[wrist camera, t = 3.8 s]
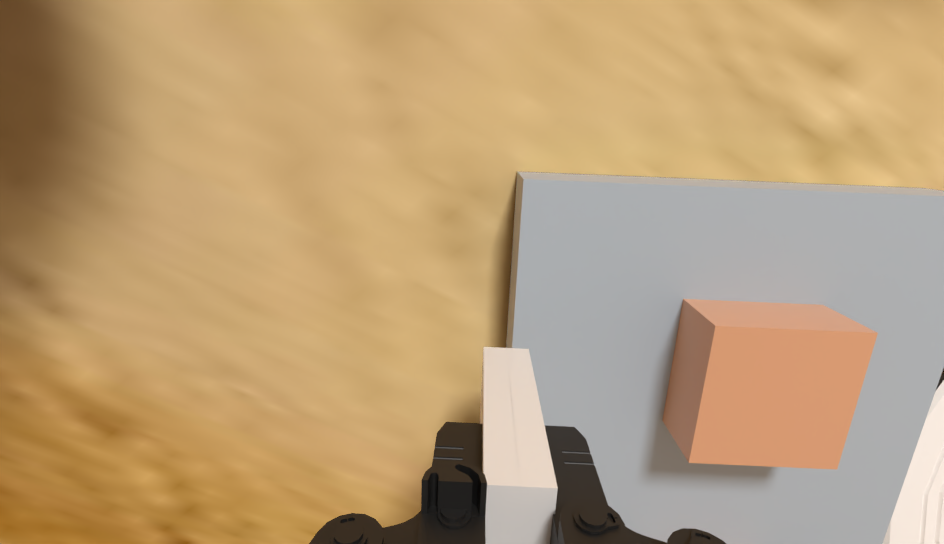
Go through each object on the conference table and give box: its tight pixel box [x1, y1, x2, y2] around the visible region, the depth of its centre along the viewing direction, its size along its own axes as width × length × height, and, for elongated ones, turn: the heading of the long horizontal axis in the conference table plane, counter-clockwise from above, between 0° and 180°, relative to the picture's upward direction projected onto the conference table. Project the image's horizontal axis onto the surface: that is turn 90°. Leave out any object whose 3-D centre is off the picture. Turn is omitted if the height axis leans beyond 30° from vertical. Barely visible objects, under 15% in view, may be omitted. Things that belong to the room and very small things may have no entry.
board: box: [506, 172, 944, 544], centre depth 21 cm, size 16×24×3 cm, turn 178°
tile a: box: [662, 299, 878, 470], centre depth 17 cm, size 5×5×2 cm
